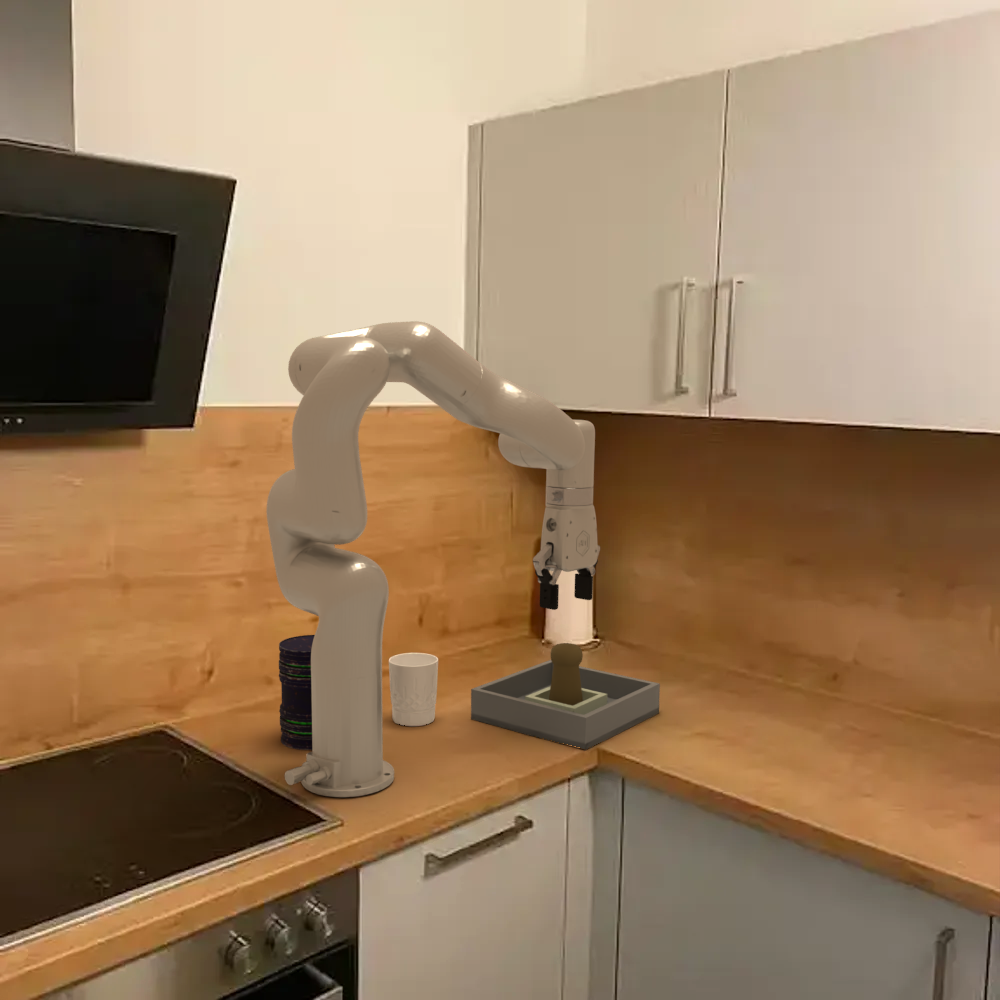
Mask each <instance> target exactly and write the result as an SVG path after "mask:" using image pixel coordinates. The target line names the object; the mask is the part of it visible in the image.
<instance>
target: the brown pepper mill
mask: <svg viewBox="0 0 1000 1000" xmlns="http://www.w3.org/2000/svg"><path fill="white" fill-rule="evenodd" d="M583 654H584V653H583V650H582V648H581V646H580V645H578V644H576V643H568V642H567V643H566V642H561V643H560V642H559V643H557V644H556V643H555V645H553V646H552V648H551V650H550V660H551V661H552V663H553V664H554V667H553V674H552V680H551V687H550V694H549V700H551V701H555V702H559V703H563V704H567V705H572V706H573V705H576V704H578V703H580V702H582V701H583V698H582V689H581V680H580V671H579V666H580V665H581V663H582V661H583Z"/></svg>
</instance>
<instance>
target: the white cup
mask: <svg viewBox="0 0 1000 1000" xmlns="http://www.w3.org/2000/svg"><path fill="white" fill-rule="evenodd" d="M438 668H439V658H438V657H437V656H436V655H434V654H430V653H426V652H425V653H424V652H405V653H399V654H396V655H392V656H390V657H389V659H388V672H389V690H390V702H391V713H392V714H391V716H392V717H391V718H392V721H393V722H394V723H395V724H398V725H399V724H400V726H404V725H405V727H421V726H426V724H427V725H429V724H430V723H432V722H434V720H435V719H436V718H435V717H436V703H437V695H438V694H437V692H438V674H439V673H438V671H439V669H438Z"/></svg>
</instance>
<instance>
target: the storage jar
mask: <svg viewBox="0 0 1000 1000" xmlns="http://www.w3.org/2000/svg"><path fill="white" fill-rule="evenodd" d="M314 636H315V634H307V635H305V634H304V635H297V636H292V637H288V638H285V639H283V640H281V641H280V642H279V644H278V649H279V653H278V657H279V659H278V670H279V671H278V672H279V674H278V677H279V682H280V683H281V684H280V685H281V689H280V690H281V703H280V705H279V711H278V712H279V726H280V732H281V735H280V743H282V745H283V746H285V747H287V748H290V749H294V750H301V751H312V690H311V649H312V643H313V639H314Z"/></svg>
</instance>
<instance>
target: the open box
mask: <svg viewBox="0 0 1000 1000" xmlns="http://www.w3.org/2000/svg"><path fill="white" fill-rule="evenodd" d="M553 667H554V664H553V663H552V661H551V659H548V660H547V661H544V662H541V663H539V664H536V665H533V666H530V667H528V668H524V669H522V670H519V671H516V672H515V673H511V674H508V675H505V676H502V677H501V678H497V679H495V680H492V681H489V682H487V683H484V684H481V685H478V686H476V687H473V688H471V689H470V704H471V705H470V719H471V720H474V721H476V722H479V723H484V724H488V725H491V726H495V727H499V728H503V729H505V730H510V731H513V732H518V733H521V734H524V735H527V736H531V737H534V736H536V737H535V738H538V737H539V739H542V738H544V739H543V740H545V739H547V740H546V741H549V740H552V741H555V742H554V743H556V742H559V743H558V744H560V743H564V744H568V745H572V746H576V747H580V748H582V749H585V750H584V751H587V750H589V749H590V748H589V747H591V748H593V747H594V745H595V746H597V745H599V744H601V743H603V742H605V741H607V740H608V739H611V738H613V737H615V736H617V735H618V734H621V733H622V732H625V731H626V730H628V729H630V728H632V727H634V726H636V725H638V724H640V723H642V722H644V721H646V720H648V719H651V718H653V717H654V716H656V715H658V714H659V713H660V694H661V693H660V691H661V690H660V689H661V688H660V687H661V684H660V683H659V682H653V681H649V680H645V679H641V678H636V677H633V676H631V677H630V676H628V675H627V676H626V675H623V674H622V675H621V674H617V673H613V672H608V671H603V670H598V669H595V668H590V667H586V666H585V667H584V666H581V665H579V671H580V680H581V689H582V698H583V701H582V702H580V703H578V704H576V705H573V706H572V705H567V704H563V703H559V702H555V701H551V700H549V694H550V687H551V680H552V674H553ZM552 741H551V742H552ZM602 741H603V742H602ZM600 742H601V743H600ZM598 743H599V744H598ZM596 744H597V745H596ZM592 746H593V747H592ZM588 748H589V749H588ZM582 749H581V750H582ZM586 749H587V750H586Z"/></svg>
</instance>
